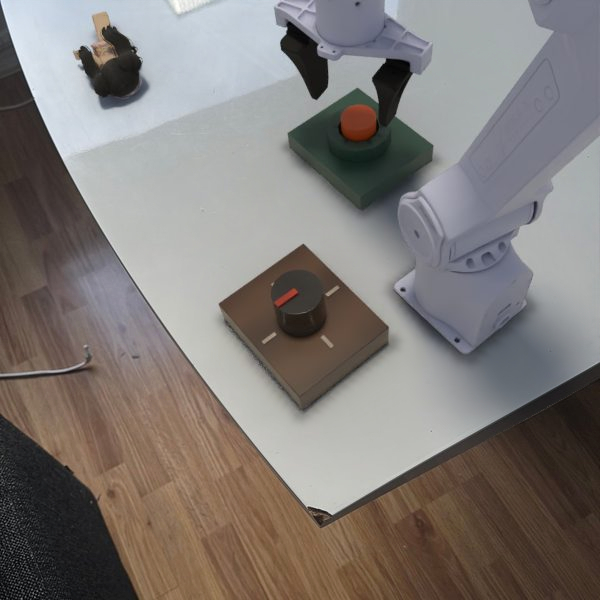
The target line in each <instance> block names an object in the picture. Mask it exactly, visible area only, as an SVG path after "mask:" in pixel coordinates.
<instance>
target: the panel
mask: <svg viewBox="0 0 600 600" xmlns="http://www.w3.org/2000/svg"><path fill="white" fill-rule="evenodd" d="M292 270H305V271H309V272H311V273H313V274H314V275H316V276H317V277H318V278H319V280H320V281H321V283H322V286H323V292H324V300H325V307H326V319H325V322H324V323H323V325H322V327H321V328H320V329H319V330H318V331H316V332H315V333H313V334H311V335H308V336H302V337H301V336H293V335H290V334H288V333H286V332H285V331H284V330H283V329H282V328H281V327H280V326H279V324H278V321H277V317H276V314H275V310H274V306H273V302H272V298H271V289H272V286H273V284H274V282H275V281H276V279H277V278H278V277H280V276H281V275H282V274H284V273H286V272H288V271H292ZM218 306H219V309H220V312H221V314H222V317H223V319H224V321H225V322H226V324H228V325H229V326H230V328H231V329H232V330H233V331H234V332H235V333H236V335H237V336H238V337H239V338H240V339H241V340H242V342H243V343H244V344H245V345H246V346H247V347H248V349H249V350H250V351H251V352H252V354H253V355H254V356H255V357H256V358H257V359H258V360H259V361H260V362H261V364H262V365H263V366H264V368H266V370H267V371H268V372H269V373H270V374H271V375H272V376H273V378H274V379H275V380H276V381H277V382H278V383H279V385H280V386H281V387H282V389H284V391H285V392H286V393H287V394H288V395H289V397H290V398H291V399H292V400H293V401H294V403H296V404H297V405H298V407H299V408H300V409H301V410H305V409H306V408H307V407H309V406H310V405H311V404H313V403H314V402H315V401H316V400H318V399H319V398H320V397H321V396H323V394H325V393H326V392H327V391H329V390H330V389H331V388H333V387H334V386H335V385H336V384H338V383H339V382H340V381H341V380H343V379H344V378H345V377H347V376H348V375H349V374H350V373H352V372H353V371H354V370H355V369H356V368H358V367H359V366H360V365H362V364H363V363H364V362H366V361H367V360H368V359H369V358H371V357H372V356H373V355H374V354H376V353H377V352H378V351H380V349H382V348H383V347H384V346H386V345H387V344H388V343H389V336H390V327H389V325H388V324H386V322H385V321H384V320H383V319H381V318H380V317H379V315H377V314H376V313H375V312H374V310H372V308H370V307H369V306H368V305H367V304H366V303H365V302H364V301H363V300H362V299H361V298H360V297H359V296H358V295H357V294H356V293H355V292H353V290H352V289H350V287H349V286H347V284H345V283H344V281H342V280H341V278H339V276H337V274H336V273H334V271H332V270H331V269H330V268H329V267H328V266H327V265H326V264H325V263H324V262H323V261H322V260H321V259H320V258H319V257H318V256H317V255H316V254H315V253H314V252H313V251H312V250H311V249H310V248H309V247H308V246H307V245H306V244H305V243H302V244H300V245H298V246H297V247H296V248H295V249H293V250H292V251H290V252H289V253H288V254H286V255H285V256H283V257H282V258H281V259H279V260H278V261H277V262H275V263H274V264H271V266H269V267H268V268H266V269H265V270H264V271H262V272H260V274H258V275H257V276H255V277H254V278H253V279H251V280H249V281H248V282H247V283H246V284H244V285H243V286H241V287H240V288H238V289H237V290H235V291H234V292H233V293H231V294H230V295H228V296H227V297H226V298H224V299H223V300H221V301H220V302H219V303H218Z"/></svg>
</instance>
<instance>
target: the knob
mask: <svg viewBox="0 0 600 600" xmlns="http://www.w3.org/2000/svg"><path fill="white" fill-rule="evenodd" d="M271 298H272V302H273V306H274V310H275V314H276V317H277V321H278V324H279V326H280V327H281V328H282V329H283V330H284V331H285V332H286V333H288V334H290V335H293V336H301V337H302V336H308V335H311V334H313V333H315V332H316V331H318V330H319V329H320V328H321V327H322V325H323V323H324V322H325V319H326V307H325V300H324V292H323V286H322V283H321V281H320V280H319V278H318V277H317V276H316V275H314V274H313V273H311V272H309V271H305V270H292V271H288V272H286V273H284V274H282V275H281V276H280V277H278V278H277V279H276V281H275V282H274V284H273V286H272V289H271Z"/></svg>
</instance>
